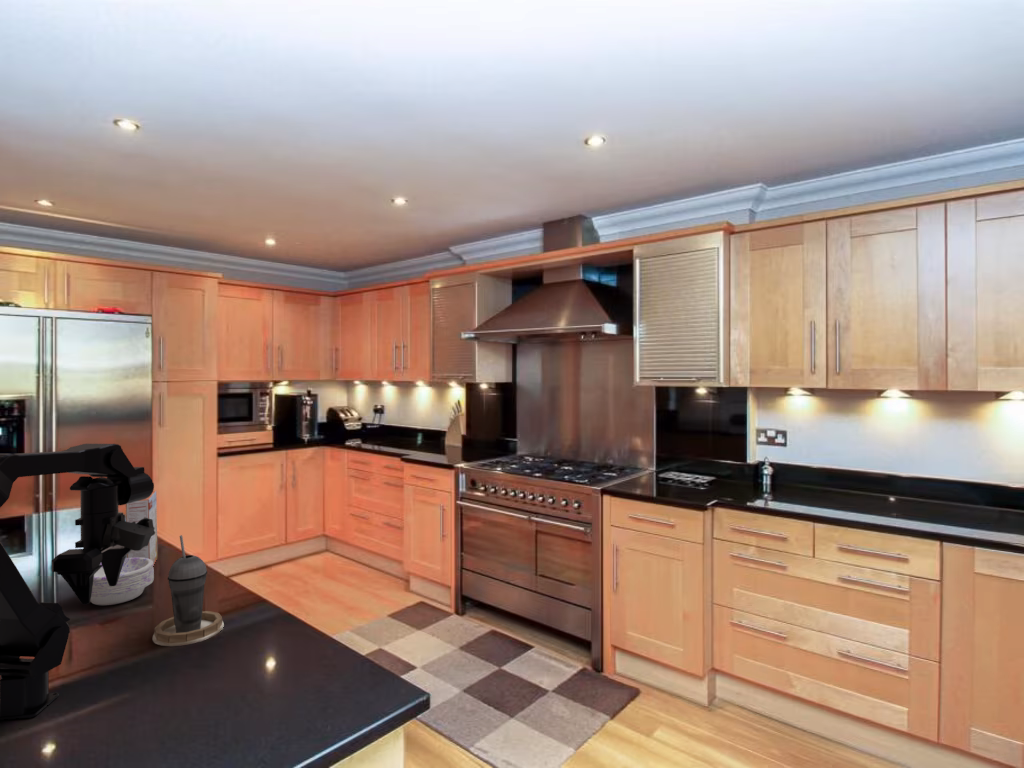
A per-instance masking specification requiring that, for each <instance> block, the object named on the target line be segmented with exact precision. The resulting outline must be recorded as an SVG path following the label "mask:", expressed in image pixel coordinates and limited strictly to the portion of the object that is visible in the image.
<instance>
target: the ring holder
mask: <svg viewBox="0 0 1024 768" xmlns="http://www.w3.org/2000/svg"><path fill="white" fill-rule="evenodd" d="M224 626H225V624H224V621H223V616H222V615H221V614H220V613H219V612H216V611H210V610H205V611H204V610H202V620H201V628H200V629H198V630H194V631H190V632H184V633H176V628H175V623H174V616H171V617H170V618H166V619H165V620H162V621H161V622H159V624H157V625H156V626H155V627H154V633H153V635H152V642H153V644H155V645H158V646H161V647H180V646H187V645H192V644H193V645H194V644H195V643H200V642H203V641H205V640H208V639H210V638H213V637H215V636H217V635H218V634H220V633H221V632H220V631H221V630H222V631H223V630H224V628H223V627H224Z"/></svg>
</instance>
